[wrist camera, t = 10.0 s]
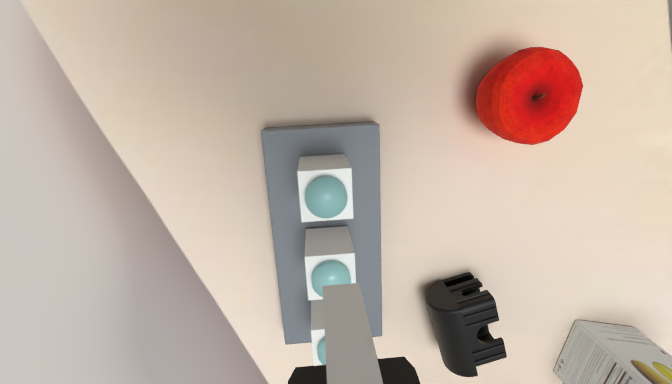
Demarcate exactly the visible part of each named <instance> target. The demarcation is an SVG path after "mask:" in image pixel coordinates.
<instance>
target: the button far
mask: <svg viewBox="0 0 672 384" xmlns="http://www.w3.org/2000/svg"><path fill="white" fill-rule="evenodd" d="M311 338H312V349H313V361H314V366H317V365H326V351H325V329H324V308H323V299H320V300H311Z"/></svg>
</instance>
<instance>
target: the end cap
mask: <svg viewBox="0 0 672 384" xmlns="http://www.w3.org/2000/svg"><path fill="white" fill-rule="evenodd" d="M480 287H483V286H482V283H481V282H480V281H479V280H478V279H477V278H475V279H474V276H473V275H472V274H471V273H464V274H461V275H458V276H454V277H451V278H448V279H445V280H442V281H440V282H438V283H436V284H434V285H433V286H432V287H431V288H430V289H429V290H428V292H427V294H426V303H427V306H428V310H429V313H430V317H431V320H432V324H433V327H434V331H435V334H436V338H437V342H438V345H439V349H440V352H441V356H442V359H443V362H444V364H445V366H446V367H447V368H448V369H449V370H450V371H451V372H453V373H455V374H457V375H460V376H464V377H474V376H478V374H477V370H476V366H480V365H483V364H486V363H489V362H493V361H496V360H499V359H502V358H506V357H507V356H506V351H505V346H504V341H503V339H502V338H497V339H494V338H493V337H492V336H491V334H490V333H489V330H488V325H487V324H489V323H492V322H496V321H499V317H498V312H497V308H496V303H495V300H494V298H493V296H492V295H491V294H490V293H489V292H488V290H485V291H482V292H480V289H479V288H480Z"/></svg>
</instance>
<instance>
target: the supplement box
mask: <svg viewBox="0 0 672 384" xmlns="http://www.w3.org/2000/svg"><path fill="white" fill-rule="evenodd" d="M554 372H555V374H556V375H557V376H558V377H559V378H560V380H561V381H562V382H563V383H564V384H672V356H671V355H670V354H668V353H667V352H666V351H664V350H663V349H662V348H661V347H659V346H658V345H657V344H655V343H654V342H653V341H651V340H650V339H649V338H647V337H646V336H645V335H644V334H642V333H641V332H640V331H638V330H637V329H636V328H634V327H629V326H621V325H613V324H605V323H597V322H590V321H582V320H576V321H575V323H574V325H573V327H572V330H571V332H570V334H569V336H568V339H567V341H566V343H565V345H564V348H563V350H562V352H561V354H560V357H559V359H558V361H557V364H556V366H555V368H554Z"/></svg>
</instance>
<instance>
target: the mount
mask: <svg viewBox="0 0 672 384" xmlns="http://www.w3.org/2000/svg"><path fill="white" fill-rule="evenodd" d="M261 136H262V145H263V154H264V162H265V171H266V180H267V189H268V197H269V206H270V215H271V224H272V232H273V241H274V250H275V259H276V267H277V276H278V285H279V294H280V302H281V311H282V320H283V329H284V337H285V345H286V344H297V343H309V342H312V338H311V300H308V291H307V280H306V268H305V237H306V229H315V228H329V227H343V226H348V228H349V232H350V236H351V240H352V244H353V248H354V252H355V272H356V283H360V287H361V292H362V296H363V300H364V304H365V309H366V313H367V317H368V321H369V326H370V330H371V334H372V337H378V336H382V288H381V212H380V136H379V124H377V123H376V122H361V123H344V124H327V125H310V126H293V127H275V128H264V129H263V130H262V131H261ZM335 154H345V155H346V157H347V160H348V162H349V164H350V166H351V168H352V194H353V219H341V220H327V221H313V222H301V210H300V199H299V187H298V176H297V170H298V164H299V159H300V157H303V156H319V155H335Z"/></svg>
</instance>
